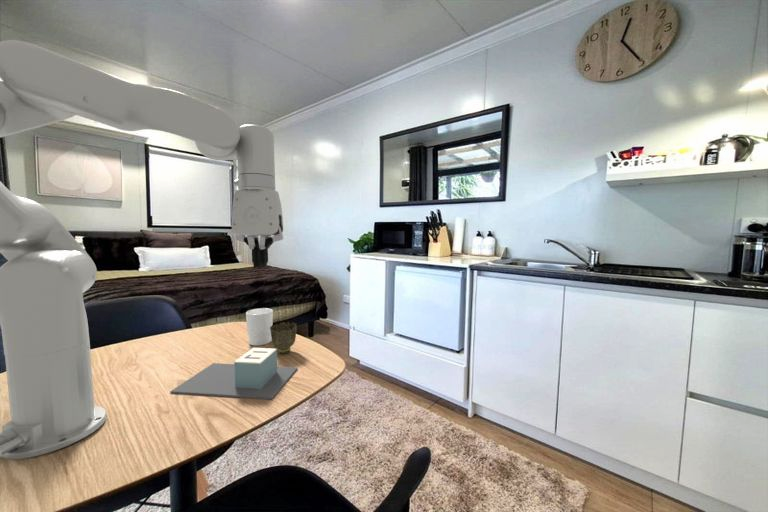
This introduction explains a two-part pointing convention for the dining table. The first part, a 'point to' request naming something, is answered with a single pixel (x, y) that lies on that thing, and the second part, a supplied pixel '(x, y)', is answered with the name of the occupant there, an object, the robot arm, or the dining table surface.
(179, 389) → the rubber mat
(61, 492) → the dining table surface
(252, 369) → the teal block
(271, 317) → the white cup
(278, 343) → the cup
